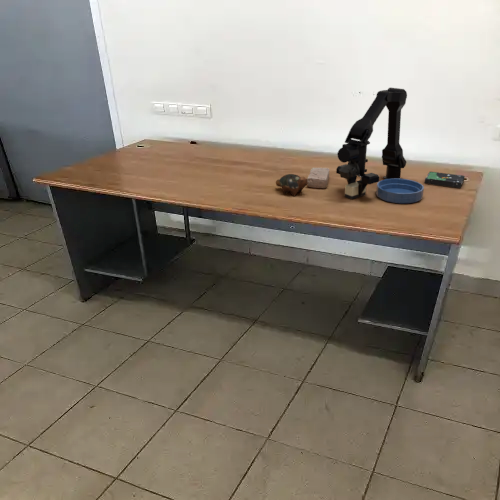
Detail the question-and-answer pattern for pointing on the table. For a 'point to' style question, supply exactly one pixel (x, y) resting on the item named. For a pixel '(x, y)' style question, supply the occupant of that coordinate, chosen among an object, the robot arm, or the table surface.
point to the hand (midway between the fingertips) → (355, 194)
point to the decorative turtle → (292, 183)
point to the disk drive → (444, 179)
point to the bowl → (399, 190)
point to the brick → (318, 177)
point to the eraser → (353, 191)
